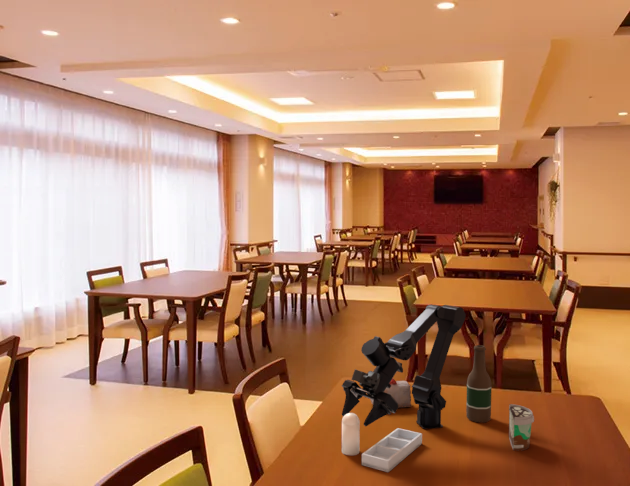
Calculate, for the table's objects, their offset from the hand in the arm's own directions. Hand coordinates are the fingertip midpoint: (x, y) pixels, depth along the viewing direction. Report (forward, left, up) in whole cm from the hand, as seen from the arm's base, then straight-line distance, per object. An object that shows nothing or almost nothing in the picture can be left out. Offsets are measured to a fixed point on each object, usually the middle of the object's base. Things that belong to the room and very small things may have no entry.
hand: (353, 420), depth 163 cm
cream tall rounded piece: (+1, 0, -9) cm, 9 cm away
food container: (-49, +6, -9) cm, 50 cm away
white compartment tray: (-10, +4, -9) cm, 14 cm away
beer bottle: (-47, -16, -9) cm, 50 cm away
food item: (-23, -33, -9) cm, 42 cm away
